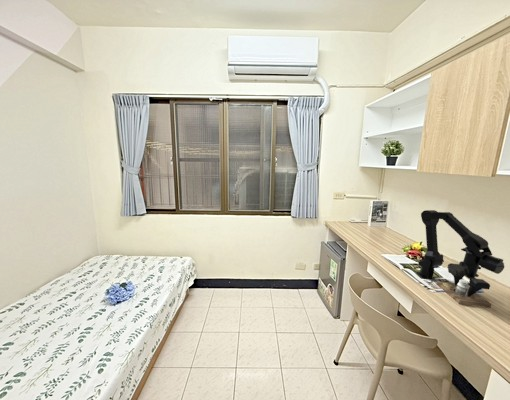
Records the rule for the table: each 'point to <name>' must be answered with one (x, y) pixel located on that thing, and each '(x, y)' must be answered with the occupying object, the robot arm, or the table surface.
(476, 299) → the pin board
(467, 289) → the pill bottle
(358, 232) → the table surface
